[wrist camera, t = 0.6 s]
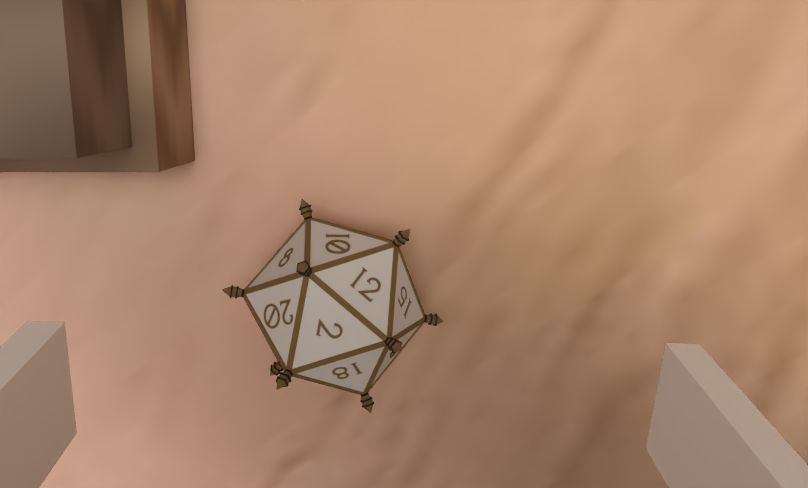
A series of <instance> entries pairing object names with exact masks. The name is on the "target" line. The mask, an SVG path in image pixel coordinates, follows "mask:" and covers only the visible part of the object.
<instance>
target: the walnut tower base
mask: <svg viewBox="0 0 808 488" xmlns="http://www.w3.org/2000/svg"><path fill="white" fill-rule="evenodd" d="M194 160H195V156H194V139H193V122H192V106H191V89H190V72H189V55H188V39H187V22H186V5H185V0H0V172H160V171H163V170H166V169H169V168H172V167H175V166H179V165H182V164H185V163H188V162H191V161H194Z"/></svg>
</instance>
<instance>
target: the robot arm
mask: <svg viewBox="0 0 808 488" xmlns="http://www.w3.org/2000/svg"><path fill="white" fill-rule="evenodd" d="M76 433H77V431H76V422H75V413H74V404H73V395H72V386H71V377H70V367H69V358H68V349H67V340H66V331H65V322H39V321H28V322H27V323H26V324H24V325H23V326H22V327H21V328H20V329H19V330H18V331H17V332H16V333H15V334H14V335H13V336H12V337H11V338H10V339H9V340H8V341H6V342H5V343H4V344H3V345H2V346H1V347H0V488H39V487H40V486H41V484H42V483H43V481H44V480H45V478H46V477H47V475H48V474H49V473H50V471H51V470H52V468H53V467H54V465H55V464H56V462H57V461H58V459H59V458H60V456H61V455H62V454H63V452H64V451H65V449H66V448H67V446H68V445H69V443H70V442H71V440H72V439H73V437H74V436H75V434H76ZM646 450H647V452H648V453H649V455H650V457H651V458H652V460H653V462H654V464H655V465H656V467H657V469H658V471H659V472H660V474H661V476H662V478H663V479H664V481H665V483H666V484H667V486H668V488H808V464H806V462H805V461H804V460H803V459H802V458H801V457H800V456H799V455H798V453H797V452H796V451H795V450H794V449H793V448H792V447H791V446H790V445H789V443H788V442H787V441H786V440H785V439H784V438H783V437H782V436H781V435H780V433H779V432H778V431H777V430H776V429H775V428H774V427H773V426H772V425H771V423H770V422H769V421H768V420H767V419H766V418H765V417H764V416H763V414H762V413H761V412H760V411H759V410H758V409H757V408H756V407H755V406H754V404H753V403H752V402H751V401H750V400H749V399H748V398H747V397H746V396H745V394H744V393H743V392H742V391H741V390H740V389H739V388H738V387H737V385H736V384H735V383H734V382H733V381H732V380H731V379H730V378H729V377H728V375H727V374H726V373H725V372H724V371H723V370H722V369H721V368H720V367H719V365H718V364H717V363H716V362H715V361H714V360H713V359H712V358H711V357H710V355H709V354H708V353H707V352H706V351H705V350H704V349H703V348H702V346H701V345H700V344H681V343H666V344H665V349H664V355H663V360H662V365H661V370H660V376H659V381H658V386H657V392H656V397H655V402H654V407H653V413H652V418H651V423H650V428H649V434H648V439H647V444H646Z"/></svg>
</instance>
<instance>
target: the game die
mask: <svg viewBox="0 0 808 488" xmlns="http://www.w3.org/2000/svg"><path fill="white" fill-rule="evenodd" d="M310 207H311V205H309V204H307V203H306V202H305V201H304V200H303V199H302V201H301V206H300V208H299V210H301V215H303V217H304V218H305V220H304V222H303V223H302V224H301V225H300V226H299V227H298V228H297V230H296V231H295V232H294V233H293V234H292V235H291V236H290V238H289V239H288V240H287V241H286V242H285V243H284V245H283V246H282V247H281V248H280V249H279V250H278V251H277V253H276V254H275V255H274V256H273V257H272V258H271V259H270V261H269V262H268V263H267V264H266V265H265V266H264V267H263V269H262V270H261V271H260V272H259V273H258V274H257V275H256V277H255V278H254V279H253V280H252V281H251V282H250V284H249V285H248V286H247V287H246V288H245V289H241V288H238V286H237V287H233V285H232V286H231V287H228V288H225V289H223V291H224V292H225V293H226V294H227V295H229V296H230V298H231V297H235V298H237V297H243V298H244V300H245V301H246V303H247V305H248V307H249V309H250V311H251V312H252V314H253V316H254V318H255V320H256V322H257V323H258V325H259V327H260V329H261V331H262V333H263V334H264V336H265V338H266V340H267V342H268V344H269V345H270V347H271V349H272V351H273V353H274V355H275V356H276V358H277V360H278V362H274V365H271V370H270V371H271V373H270V375H278V374H280V376H279V377H277V379H276V382H277V389H279V388H282V387H287V386H289V385H288V383H289V382H291V376H293V377H297V378H301V379H304V380H308V381H312V382H316V383H319V384H323V385H327V386H330V387H334V388H338V389H342V390H345V391H349V392H353V393H356V394H360V395H361V401H360V402H362V405H363V406H362V407H364V408H365V409H366V410H368V411H369V412H370V413H371V411H372V407H373V404H374V402H372V397H370V396H369V394H368V392H369V391H370V389H371V388H372V387H373V386H374V384H375V383H376V382H377V381H378V379H379V378H380V377H381V376H382V374H383V373H384V372H385V371H386V369H387V368H388V367H389V366H390V364H391V363H392V362H393V361H394V359H395V358H396V357H397V356H398V354H399V353H400V352H401V351H402V349H403V348H404V347H405V346H406V344H407V343H408V342H409V341H410V339H411V338H412V337H413V336H414V334H415V333H416V332H417V331H418V329H419V328H420V327H421V326H422V324H423V323H424V322H426V323H428V324H429V325H431V324H433V325H434V326H436V325H437V324H439V323H441V322H443V320H442V319H440V318H439V317H438V316H437V314H435V315H432V313H430V315H425V314H424V311H423V309H422V306H421V303H420V301H419V298H418V295H417V293H416V290H415V288H414V285H413V282H412V280H411V277H410V274H409V272H408V269H407V267H406V264H405V261H404V259H403V256H402V253H401V251H400V248H399V246H400V245H402V244H405V242H406V241H409V238H408V237H409V232H410V229H408V230H405V231H399V232H398V233H399V234H398V235H395V239H394V241H392V240H389V239H385V238H382V237H378V236H375V235H371V234H368V233H364V232H361V231H357V230H354V229H350V228H347V227H343V226H340V225H336V224H333V223H329V222H326V221H322V220H319V219H315V218H312V210H311V208H310ZM283 369H284V372H283V373H282V372H280V371H282V370H283Z"/></svg>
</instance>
